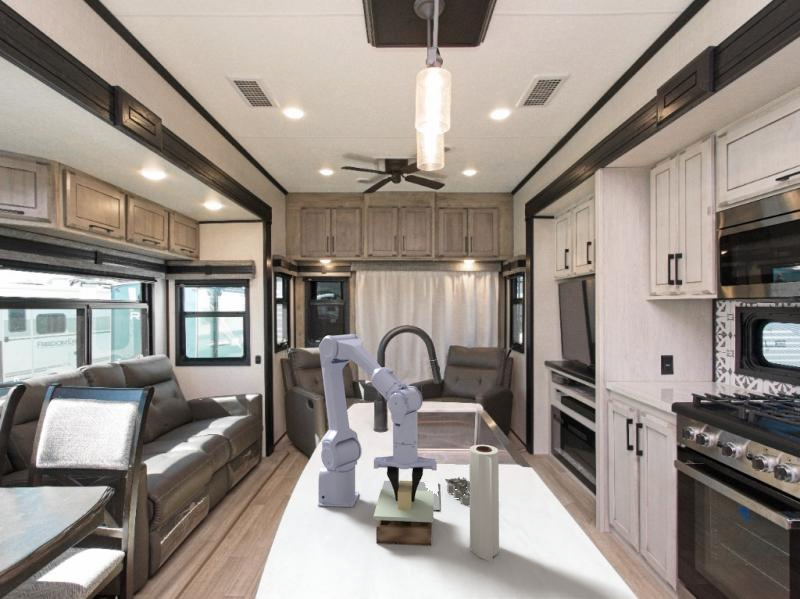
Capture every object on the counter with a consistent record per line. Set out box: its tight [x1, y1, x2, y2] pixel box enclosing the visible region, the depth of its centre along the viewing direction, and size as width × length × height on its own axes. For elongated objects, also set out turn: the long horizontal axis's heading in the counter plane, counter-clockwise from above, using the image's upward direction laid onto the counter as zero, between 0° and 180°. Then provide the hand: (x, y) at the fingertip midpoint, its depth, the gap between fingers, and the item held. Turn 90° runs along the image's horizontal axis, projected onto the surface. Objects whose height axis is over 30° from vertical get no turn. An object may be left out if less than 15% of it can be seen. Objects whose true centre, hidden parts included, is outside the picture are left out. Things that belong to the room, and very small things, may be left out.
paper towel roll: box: [469, 444, 500, 564], centre depth 86 cm, size 7×6×21 cm
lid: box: [372, 480, 434, 523], centre depth 95 cm, size 13×13×5 cm
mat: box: [381, 480, 441, 510], centre depth 111 cm, size 16×16×1 cm
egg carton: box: [445, 476, 470, 506], centre depth 111 cm, size 11×8×4 cm
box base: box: [375, 520, 433, 547], centre depth 94 cm, size 12×12×4 cm
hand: (405, 499), depth 95 cm, fingers closed on lid, 3 cm apart
